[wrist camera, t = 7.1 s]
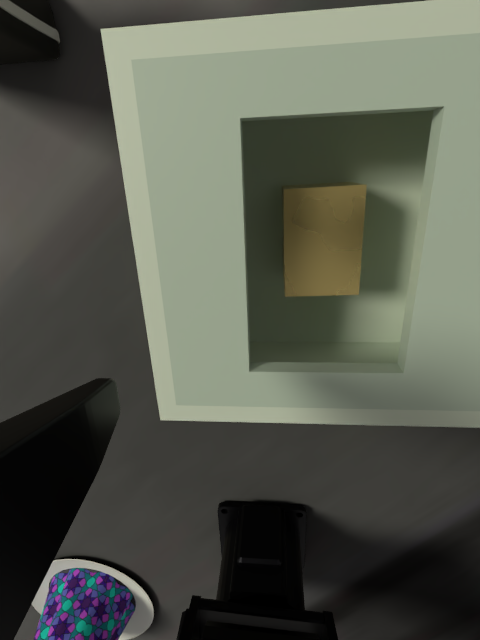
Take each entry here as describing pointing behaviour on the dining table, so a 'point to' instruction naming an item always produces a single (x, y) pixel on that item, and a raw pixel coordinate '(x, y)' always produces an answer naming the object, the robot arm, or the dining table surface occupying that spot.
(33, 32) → the battery charger
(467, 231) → the open box
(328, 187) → the khaki wooden block
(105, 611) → the pudding
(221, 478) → the dining table surface
